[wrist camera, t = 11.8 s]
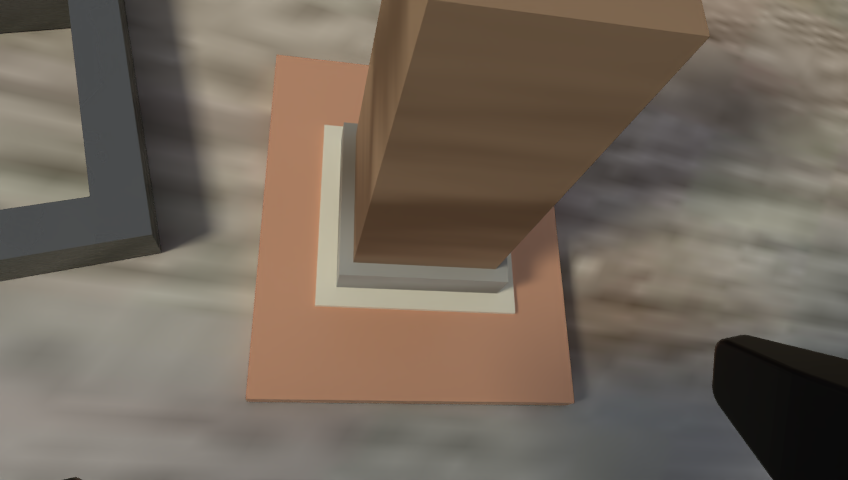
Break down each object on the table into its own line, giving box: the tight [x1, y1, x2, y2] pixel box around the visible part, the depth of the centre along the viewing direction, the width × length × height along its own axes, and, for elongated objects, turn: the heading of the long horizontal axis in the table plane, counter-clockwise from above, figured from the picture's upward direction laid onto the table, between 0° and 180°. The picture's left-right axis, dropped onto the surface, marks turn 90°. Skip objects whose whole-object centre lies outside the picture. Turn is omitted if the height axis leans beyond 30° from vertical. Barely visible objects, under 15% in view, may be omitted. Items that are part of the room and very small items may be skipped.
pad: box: [246, 55, 574, 405], centre depth 21 cm, size 12×10×1 cm
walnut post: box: [336, 0, 710, 293], centre depth 15 cm, size 5×5×12 cm
